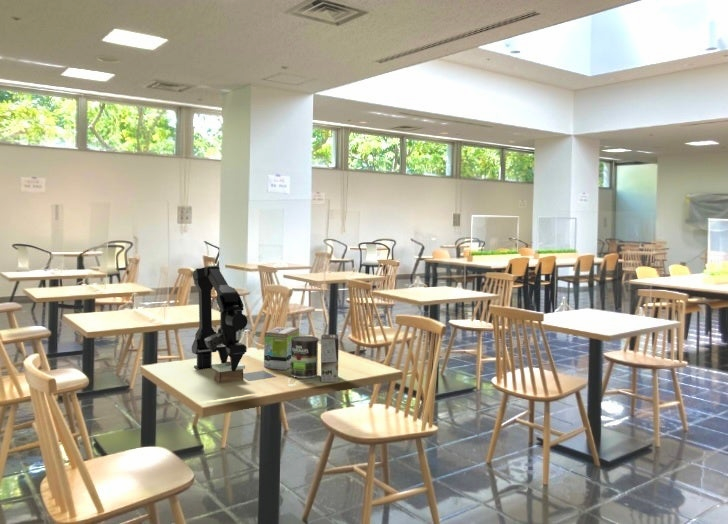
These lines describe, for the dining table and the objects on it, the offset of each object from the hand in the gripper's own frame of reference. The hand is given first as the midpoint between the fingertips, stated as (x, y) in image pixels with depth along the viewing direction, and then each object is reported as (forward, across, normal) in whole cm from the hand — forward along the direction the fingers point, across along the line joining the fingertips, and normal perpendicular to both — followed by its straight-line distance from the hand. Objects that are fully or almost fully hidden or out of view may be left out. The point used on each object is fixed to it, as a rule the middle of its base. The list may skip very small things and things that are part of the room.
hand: (228, 368), depth 215 cm
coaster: (+5, 0, +11) cm, 12 cm away
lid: (+1, 0, 0) cm, 1 cm away
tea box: (+5, -13, +28) cm, 31 cm away
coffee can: (+5, +6, +28) cm, 29 cm away
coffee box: (+5, +16, +33) cm, 37 cm away
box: (+5, 0, 0) cm, 5 cm away
